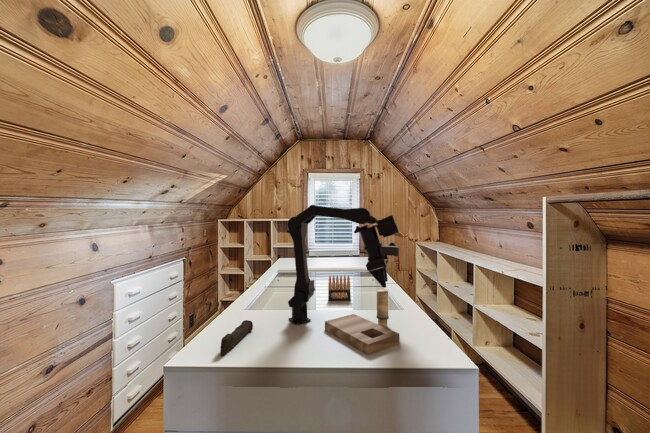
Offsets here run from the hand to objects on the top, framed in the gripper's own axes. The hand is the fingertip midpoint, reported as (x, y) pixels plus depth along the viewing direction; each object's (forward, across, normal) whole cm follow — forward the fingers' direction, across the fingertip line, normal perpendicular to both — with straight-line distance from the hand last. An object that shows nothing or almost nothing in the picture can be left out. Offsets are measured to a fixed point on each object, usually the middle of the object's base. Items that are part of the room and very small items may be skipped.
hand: (385, 284), depth 97 cm
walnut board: (+12, -8, +12) cm, 19 cm away
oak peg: (+14, +2, +6) cm, 16 cm away
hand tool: (+2, -22, +48) cm, 53 cm away
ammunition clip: (+8, +30, +27) cm, 41 cm away
